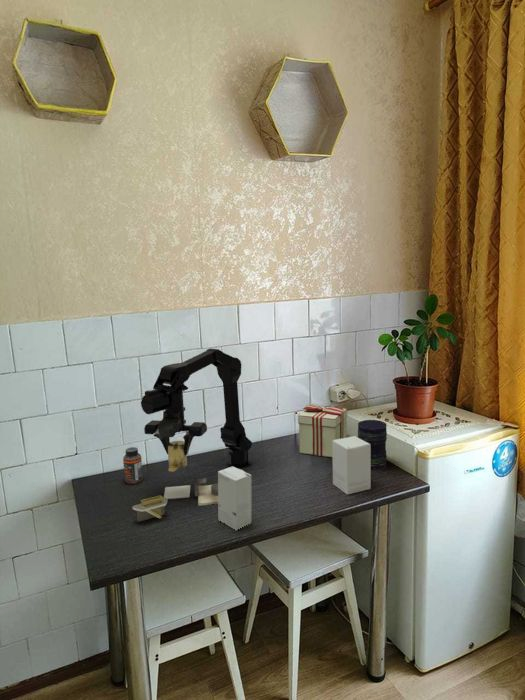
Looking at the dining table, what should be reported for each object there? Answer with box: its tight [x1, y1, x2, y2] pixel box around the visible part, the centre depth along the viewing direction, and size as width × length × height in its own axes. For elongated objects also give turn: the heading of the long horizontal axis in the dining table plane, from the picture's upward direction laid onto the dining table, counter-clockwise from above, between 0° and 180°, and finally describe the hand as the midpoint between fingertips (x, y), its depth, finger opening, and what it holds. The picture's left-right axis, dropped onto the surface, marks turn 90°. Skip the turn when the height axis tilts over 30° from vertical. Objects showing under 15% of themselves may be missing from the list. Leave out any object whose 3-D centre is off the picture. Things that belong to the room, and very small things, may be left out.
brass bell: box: [167, 440, 188, 473], centre depth 156 cm, size 10×6×7 cm, turn 167°
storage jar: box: [357, 419, 388, 472], centre depth 173 cm, size 10×10×15 cm
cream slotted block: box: [193, 477, 218, 507], centre depth 156 cm, size 14×12×5 cm
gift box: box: [297, 403, 348, 458], centre depth 191 cm, size 17×18×17 cm
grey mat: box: [163, 484, 191, 500], centre depth 159 cm, size 8×8×1 cm
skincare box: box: [217, 466, 252, 531], centre depth 138 cm, size 8×6×15 cm
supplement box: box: [331, 435, 372, 495], centre depth 157 cm, size 9×9×15 cm
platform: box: [132, 495, 168, 523], centre depth 142 cm, size 12×18×7 cm, turn 119°
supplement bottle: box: [122, 446, 144, 485], centre depth 168 cm, size 6×6×11 cm
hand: (177, 454), depth 156 cm, fingers closed on brass bell, 6 cm apart
